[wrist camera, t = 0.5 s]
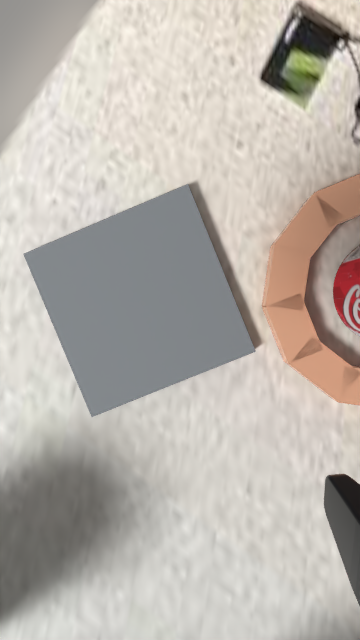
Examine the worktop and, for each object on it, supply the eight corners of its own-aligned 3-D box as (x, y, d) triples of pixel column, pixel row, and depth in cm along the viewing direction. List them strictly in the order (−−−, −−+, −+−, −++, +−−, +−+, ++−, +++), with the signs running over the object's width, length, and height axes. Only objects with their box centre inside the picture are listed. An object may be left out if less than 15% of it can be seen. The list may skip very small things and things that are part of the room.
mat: (253, 350, 21) (255, 351, 20) (94, 413, 21) (91, 417, 20) (187, 187, 20) (187, 183, 20) (28, 255, 21) (23, 253, 20)
